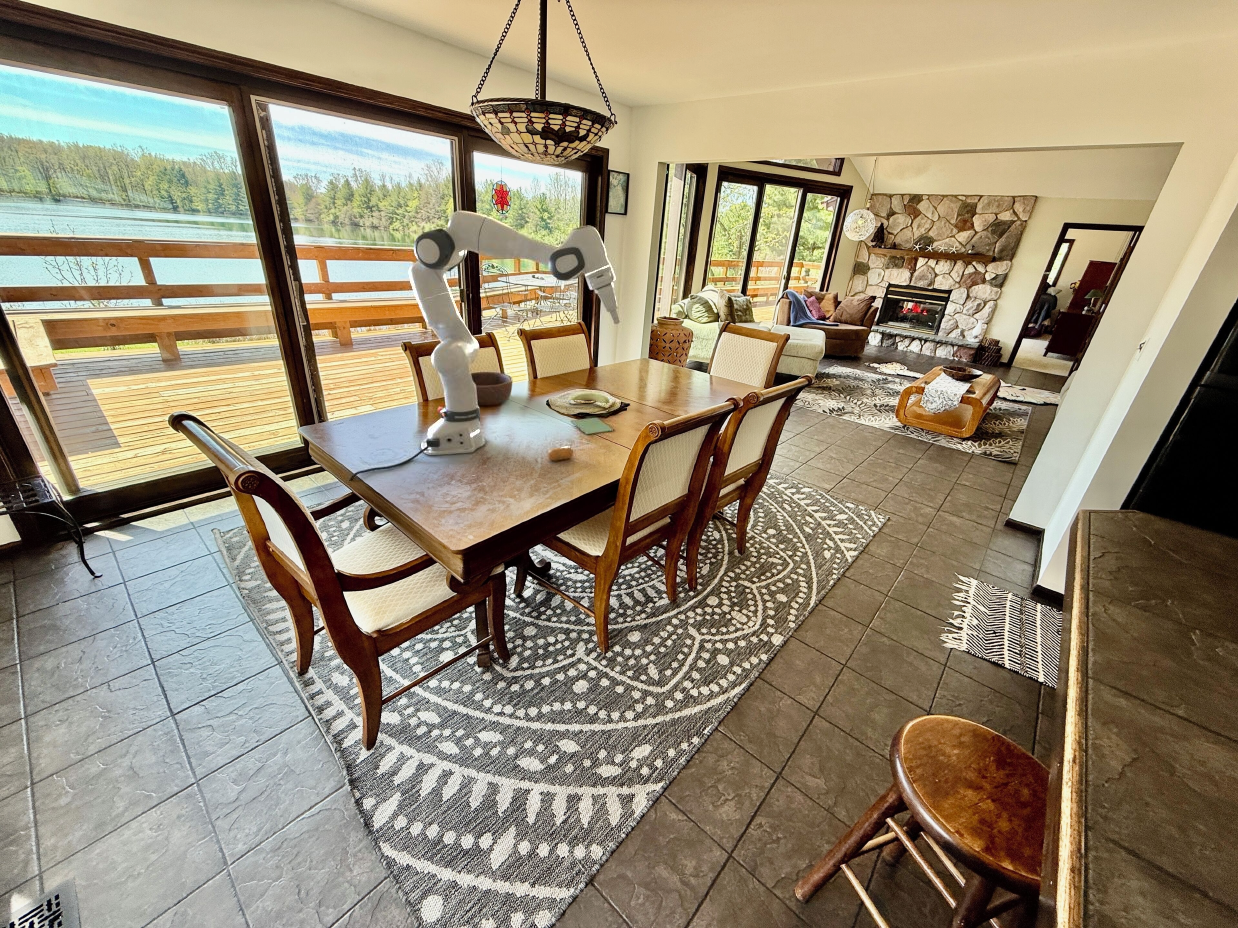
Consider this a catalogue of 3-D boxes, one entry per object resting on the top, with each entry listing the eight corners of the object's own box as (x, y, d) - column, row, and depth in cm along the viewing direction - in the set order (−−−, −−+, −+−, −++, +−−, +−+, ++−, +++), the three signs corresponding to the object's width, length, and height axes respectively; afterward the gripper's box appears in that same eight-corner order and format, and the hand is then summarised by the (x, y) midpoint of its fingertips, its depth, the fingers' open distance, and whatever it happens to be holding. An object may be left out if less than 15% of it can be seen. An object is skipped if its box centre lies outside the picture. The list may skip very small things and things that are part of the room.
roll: (550, 463, 167) (550, 452, 165) (546, 458, 171) (546, 447, 169) (575, 459, 171) (575, 448, 169) (570, 454, 175) (570, 443, 173)
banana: (588, 385, 230) (617, 400, 218) (590, 394, 234) (617, 410, 222) (566, 396, 223) (594, 413, 212) (568, 406, 227) (595, 423, 215)
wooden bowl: (463, 391, 235) (461, 371, 231) (515, 392, 238) (514, 372, 234) (453, 408, 213) (451, 386, 209) (510, 409, 216) (509, 387, 212)
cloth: (586, 434, 193) (586, 433, 193) (571, 421, 206) (571, 420, 205) (613, 430, 198) (613, 430, 198) (597, 418, 211) (597, 417, 211)
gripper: (591, 282, 161) (606, 322, 166) (591, 284, 142) (608, 329, 147) (609, 275, 161) (623, 315, 166) (611, 276, 142) (627, 321, 147)
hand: (616, 322), depth 156 cm, fingers open, 8 cm apart
